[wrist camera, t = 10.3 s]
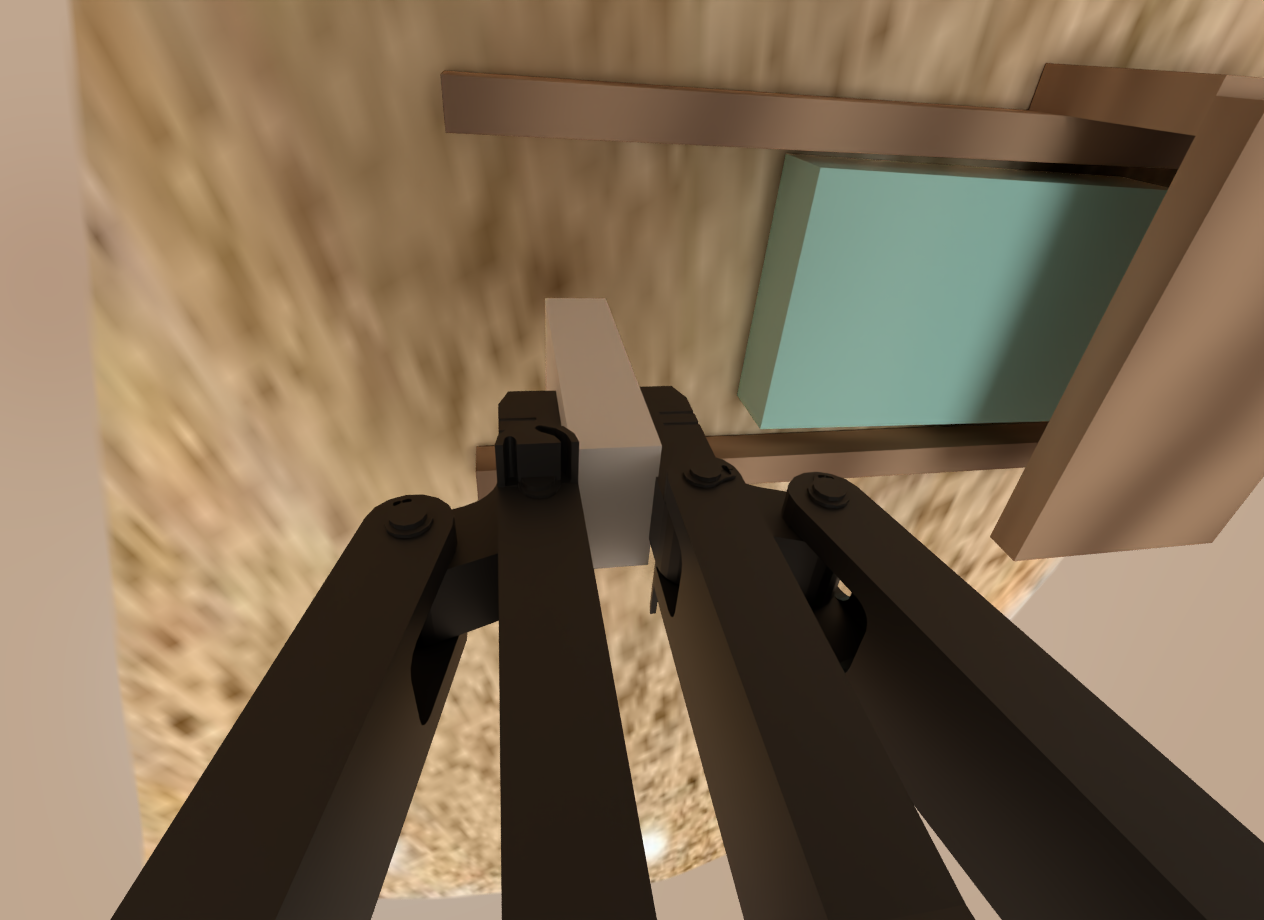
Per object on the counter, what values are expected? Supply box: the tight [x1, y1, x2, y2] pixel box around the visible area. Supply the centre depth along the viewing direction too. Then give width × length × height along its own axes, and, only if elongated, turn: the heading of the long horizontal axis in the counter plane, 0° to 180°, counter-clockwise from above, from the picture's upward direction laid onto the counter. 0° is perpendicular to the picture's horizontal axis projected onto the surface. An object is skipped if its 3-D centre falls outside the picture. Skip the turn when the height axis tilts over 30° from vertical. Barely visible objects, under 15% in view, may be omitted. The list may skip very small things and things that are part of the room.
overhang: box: [441, 63, 1264, 561], centre depth 18 cm, size 25×14×7 cm, turn 86°
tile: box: [737, 153, 1169, 429], centre depth 21 cm, size 12×8×3 cm, turn 85°
